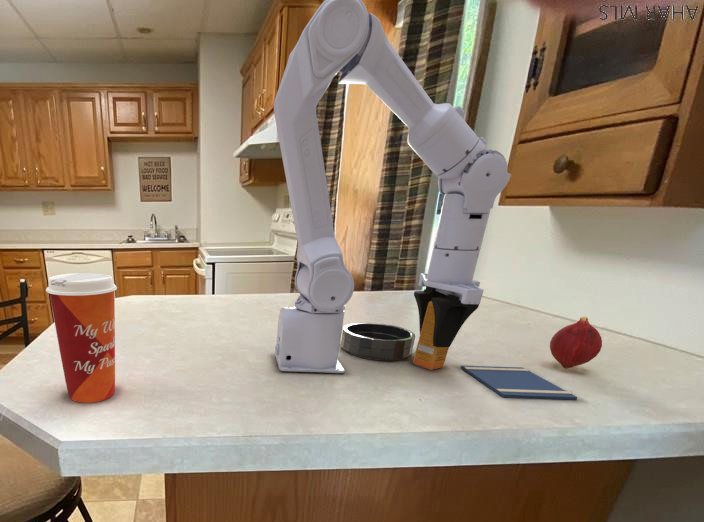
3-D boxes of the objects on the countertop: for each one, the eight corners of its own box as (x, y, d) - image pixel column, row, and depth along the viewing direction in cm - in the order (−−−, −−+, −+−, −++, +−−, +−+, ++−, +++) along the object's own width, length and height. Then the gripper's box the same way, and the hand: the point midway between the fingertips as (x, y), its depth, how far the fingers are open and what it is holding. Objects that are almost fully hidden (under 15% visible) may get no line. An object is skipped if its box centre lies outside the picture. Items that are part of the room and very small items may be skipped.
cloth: (503, 397, 55) (504, 393, 55) (460, 367, 65) (461, 364, 65) (576, 400, 54) (577, 396, 54) (521, 369, 64) (522, 366, 64)
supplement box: (432, 371, 64) (448, 305, 60) (412, 364, 67) (425, 300, 63) (446, 367, 65) (462, 303, 61) (425, 361, 68) (440, 298, 64)
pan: (350, 360, 68) (353, 339, 67) (334, 340, 78) (336, 322, 77) (422, 362, 67) (427, 341, 66) (396, 342, 77) (400, 323, 76)
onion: (600, 376, 62) (622, 323, 59) (556, 373, 63) (575, 320, 60) (576, 363, 67) (595, 313, 64) (535, 360, 68) (552, 311, 65)
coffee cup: (92, 412, 50) (80, 284, 44) (45, 397, 54) (28, 278, 48) (137, 389, 57) (131, 275, 51) (92, 376, 61) (82, 270, 55)
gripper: (519, 254, 52) (488, 358, 57) (459, 244, 65) (439, 329, 71) (459, 253, 53) (435, 356, 58) (412, 244, 66) (396, 328, 71)
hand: (434, 342), depth 64 cm, fingers closed on supplement box, 4 cm apart
